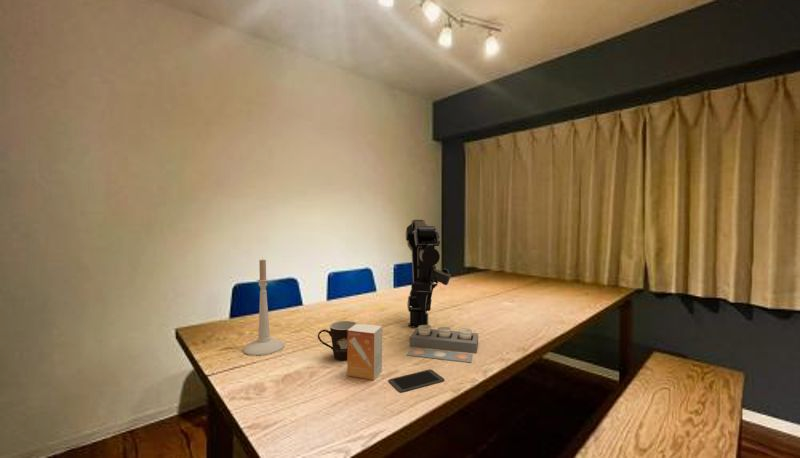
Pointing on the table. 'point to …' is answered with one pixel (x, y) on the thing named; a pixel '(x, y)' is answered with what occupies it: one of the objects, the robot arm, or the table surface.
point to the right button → (465, 334)
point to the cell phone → (415, 380)
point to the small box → (364, 351)
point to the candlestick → (263, 323)
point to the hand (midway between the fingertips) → (425, 307)
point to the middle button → (444, 332)
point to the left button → (424, 330)
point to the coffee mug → (339, 338)
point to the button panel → (444, 341)
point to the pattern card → (440, 355)
